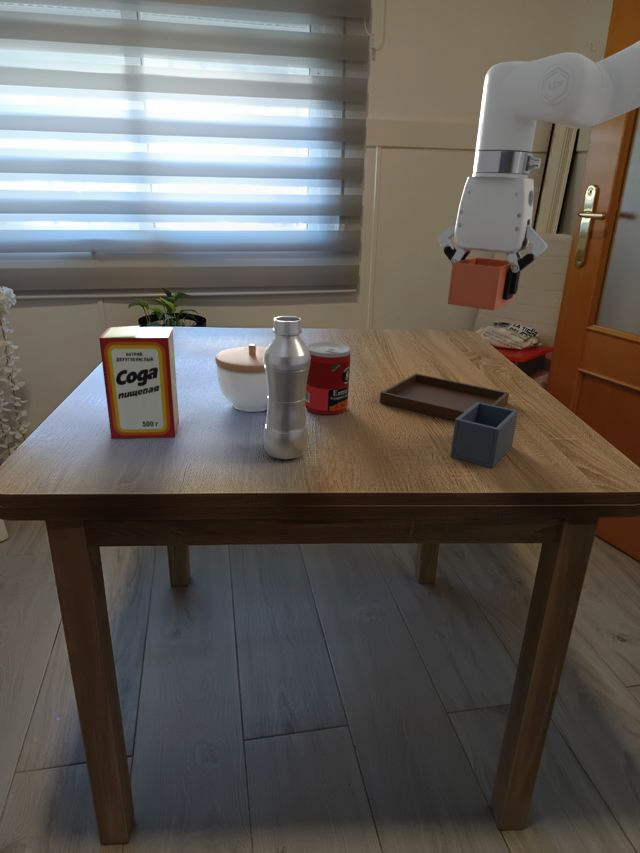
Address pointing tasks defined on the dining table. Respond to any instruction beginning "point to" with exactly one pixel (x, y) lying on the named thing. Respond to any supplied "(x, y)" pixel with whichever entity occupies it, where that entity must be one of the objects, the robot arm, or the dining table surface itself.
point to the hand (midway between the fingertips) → (482, 294)
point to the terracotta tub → (478, 283)
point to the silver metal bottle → (286, 390)
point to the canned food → (328, 378)
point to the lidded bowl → (243, 377)
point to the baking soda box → (140, 381)
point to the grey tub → (483, 434)
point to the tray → (439, 396)
